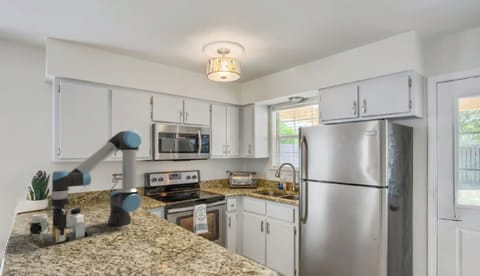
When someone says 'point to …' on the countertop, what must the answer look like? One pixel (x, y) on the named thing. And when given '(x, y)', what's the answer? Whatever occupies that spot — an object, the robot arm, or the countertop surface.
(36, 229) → the pneumatic valve
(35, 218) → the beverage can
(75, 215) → the medicine bottle
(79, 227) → the light grey upright block
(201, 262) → the countertop surface
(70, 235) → the rack
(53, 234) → the block
